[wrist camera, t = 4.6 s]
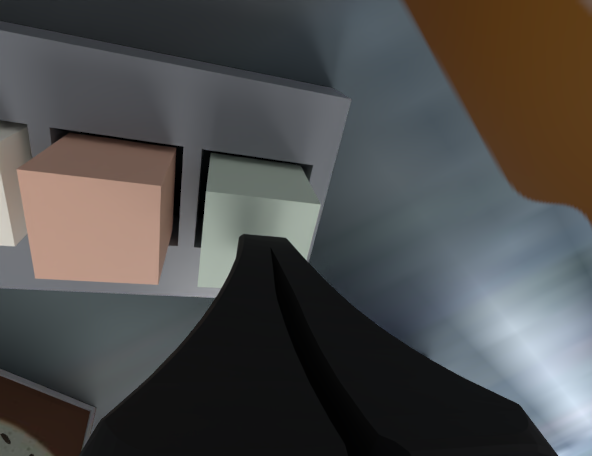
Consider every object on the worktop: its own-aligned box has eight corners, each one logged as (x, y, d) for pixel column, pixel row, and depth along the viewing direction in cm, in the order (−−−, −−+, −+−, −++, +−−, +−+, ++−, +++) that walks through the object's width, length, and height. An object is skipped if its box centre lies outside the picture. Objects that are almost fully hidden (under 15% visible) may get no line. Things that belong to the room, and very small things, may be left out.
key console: (332, 88, 14) (351, 99, 12) (290, 269, 18) (298, 301, 16) (-129, -5, 11) (-218, -13, 9) (-54, 246, 15) (-101, 283, 13)
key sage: (300, 165, 14) (320, 204, 11) (284, 239, 15) (298, 292, 12) (210, 152, 13) (205, 191, 10) (203, 232, 14) (197, 286, 12)
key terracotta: (176, 147, 13) (160, 186, 10) (172, 229, 14) (158, 284, 11) (69, 132, 12) (16, 169, 9) (77, 221, 13) (35, 278, 10)
